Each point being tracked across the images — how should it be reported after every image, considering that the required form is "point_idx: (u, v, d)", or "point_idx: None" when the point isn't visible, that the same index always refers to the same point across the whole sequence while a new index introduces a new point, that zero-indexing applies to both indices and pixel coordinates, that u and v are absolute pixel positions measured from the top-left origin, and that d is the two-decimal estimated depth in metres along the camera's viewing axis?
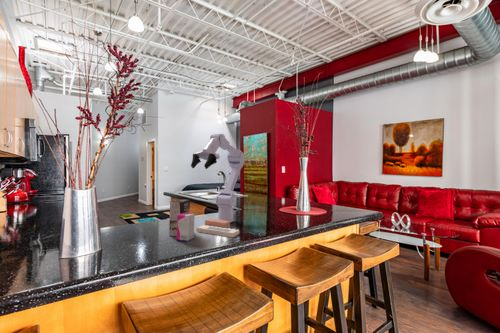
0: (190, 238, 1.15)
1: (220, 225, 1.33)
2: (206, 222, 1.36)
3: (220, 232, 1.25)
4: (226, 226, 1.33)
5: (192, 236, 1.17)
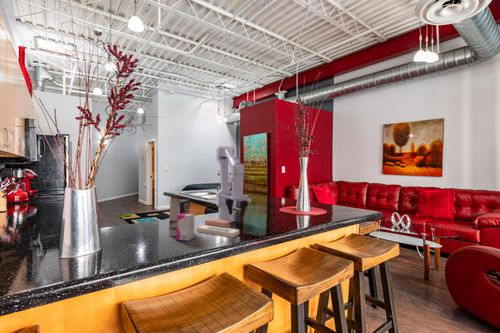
0: (190, 238, 1.15)
1: (220, 225, 1.33)
2: (206, 222, 1.36)
3: (220, 232, 1.25)
4: (226, 226, 1.33)
5: (192, 236, 1.17)
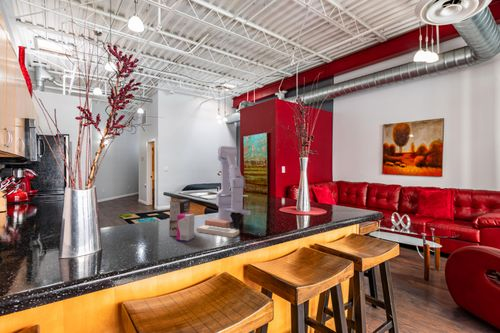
0: (190, 238, 1.15)
1: (220, 225, 1.33)
2: (206, 222, 1.36)
3: (220, 232, 1.25)
4: (226, 226, 1.33)
5: (192, 236, 1.17)
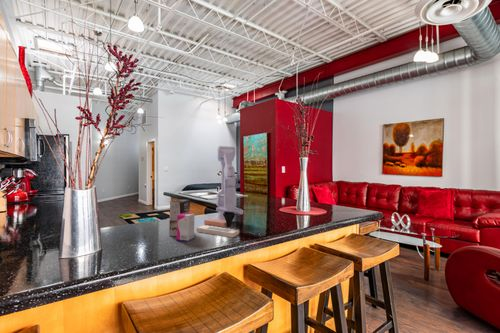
0: (190, 238, 1.15)
1: (219, 225, 1.33)
2: (205, 222, 1.36)
3: (220, 232, 1.25)
4: (225, 226, 1.33)
5: (192, 236, 1.17)
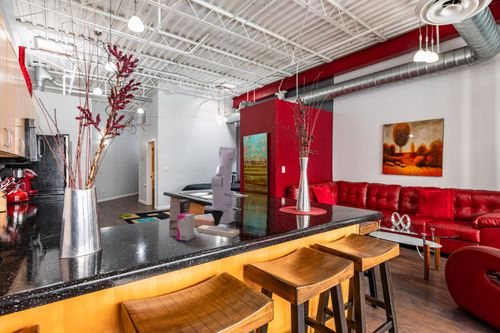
0: (190, 238, 1.15)
1: (208, 223, 1.36)
2: (194, 221, 1.39)
3: (220, 232, 1.25)
4: (214, 224, 1.36)
5: (192, 236, 1.17)
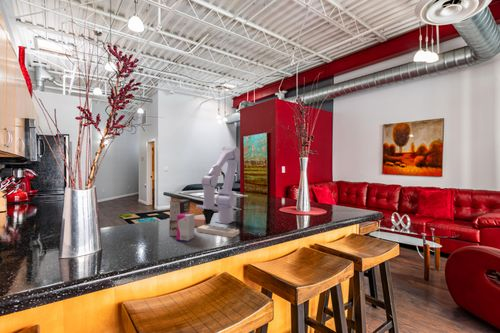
0: (190, 238, 1.15)
1: (199, 222, 1.38)
2: None
3: (220, 232, 1.25)
4: (205, 223, 1.38)
5: (192, 236, 1.17)
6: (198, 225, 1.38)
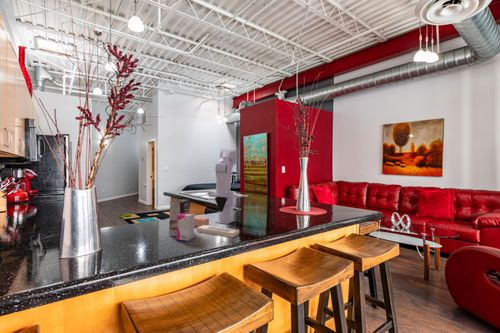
0: (190, 238, 1.15)
1: (199, 222, 1.38)
2: None
3: (220, 232, 1.25)
4: (205, 223, 1.38)
5: (192, 236, 1.17)
6: (198, 225, 1.38)
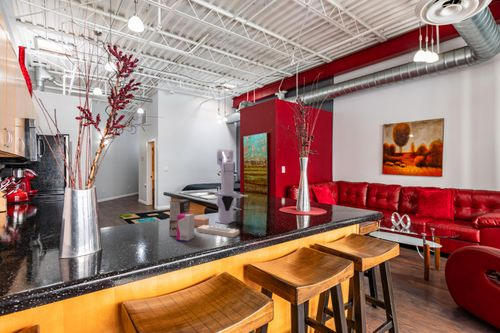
0: (190, 238, 1.15)
1: (199, 222, 1.38)
2: None
3: (220, 232, 1.25)
4: (205, 223, 1.38)
5: (192, 236, 1.17)
6: (198, 225, 1.38)
